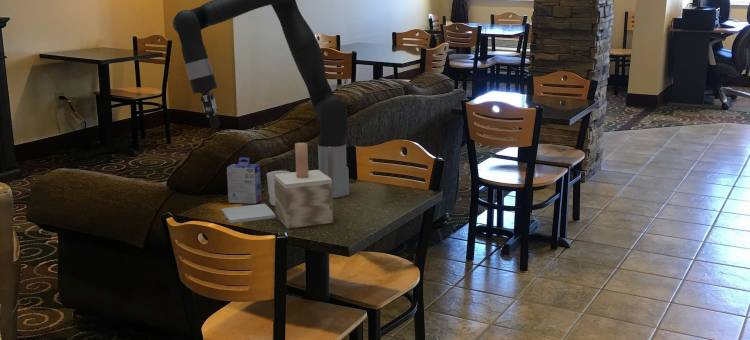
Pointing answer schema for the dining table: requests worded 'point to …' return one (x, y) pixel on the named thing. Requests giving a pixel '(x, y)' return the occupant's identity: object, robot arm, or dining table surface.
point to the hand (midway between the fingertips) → (216, 127)
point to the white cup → (272, 185)
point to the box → (304, 205)
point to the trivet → (248, 213)
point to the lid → (302, 172)
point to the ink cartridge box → (244, 182)
